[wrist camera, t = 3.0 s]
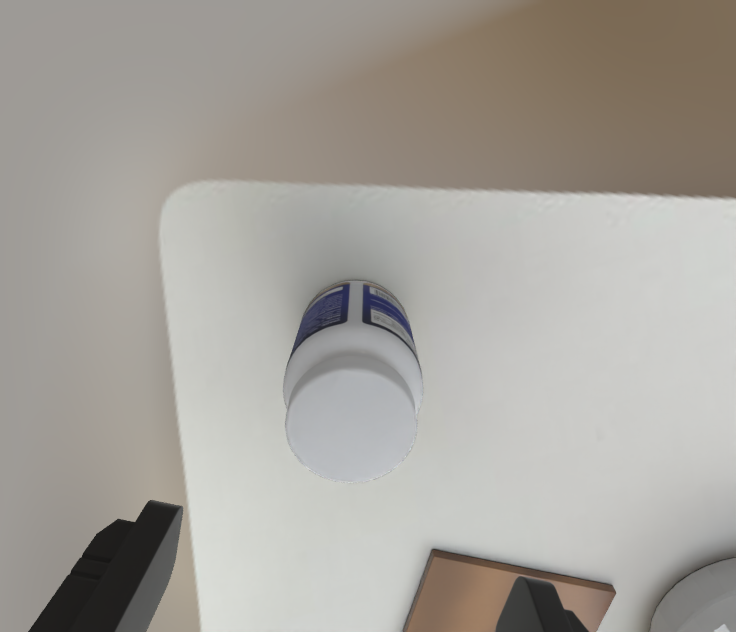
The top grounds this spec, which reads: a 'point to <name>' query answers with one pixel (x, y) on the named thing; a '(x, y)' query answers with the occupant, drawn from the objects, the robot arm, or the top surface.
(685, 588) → the grey countertop holder stand
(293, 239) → the top surface
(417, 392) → the pill bottle
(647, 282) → the top surface
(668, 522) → the top surface
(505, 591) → the coaster
